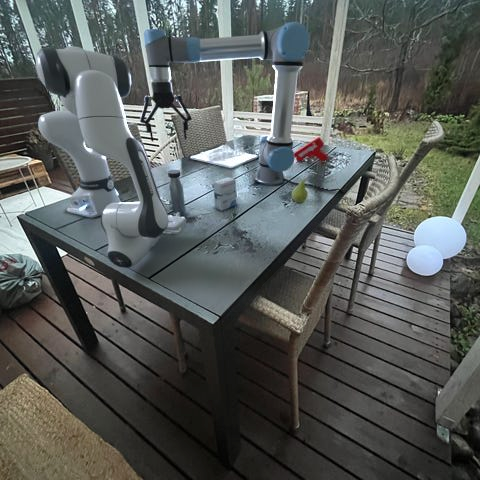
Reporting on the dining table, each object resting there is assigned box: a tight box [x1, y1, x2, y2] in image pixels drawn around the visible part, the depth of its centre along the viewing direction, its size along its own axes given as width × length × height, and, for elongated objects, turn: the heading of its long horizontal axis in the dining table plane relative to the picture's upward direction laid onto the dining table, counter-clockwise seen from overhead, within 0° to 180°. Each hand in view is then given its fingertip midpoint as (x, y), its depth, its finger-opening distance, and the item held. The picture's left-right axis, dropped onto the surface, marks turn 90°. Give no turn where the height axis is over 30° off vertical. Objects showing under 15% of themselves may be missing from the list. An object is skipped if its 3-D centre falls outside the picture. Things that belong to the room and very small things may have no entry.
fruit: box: [291, 174, 311, 204], centre depth 118 cm, size 7×8×12 cm
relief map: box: [190, 144, 259, 169], centre depth 178 cm, size 27×35×5 cm
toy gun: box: [294, 136, 329, 164], centre depth 170 cm, size 18×4×15 cm
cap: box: [167, 169, 182, 179], centre depth 102 cm, size 4×4×2 cm
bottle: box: [168, 177, 187, 218], centre depth 107 cm, size 5×5×18 cm
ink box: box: [212, 176, 237, 211], centre depth 115 cm, size 8×5×12 cm, turn 135°
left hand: (165, 212), depth 99 cm, fingers open, 8 cm apart
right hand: (169, 139), depth 114 cm, fingers open, 13 cm apart
